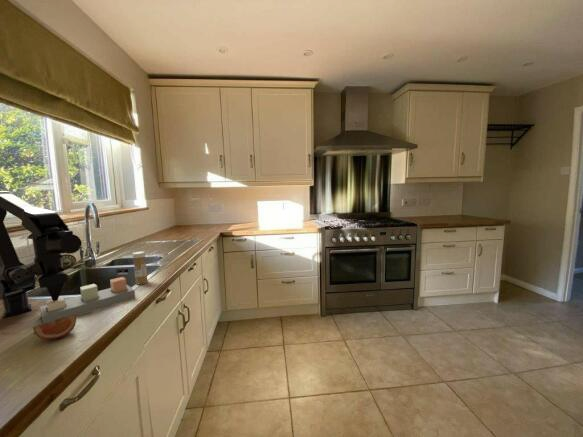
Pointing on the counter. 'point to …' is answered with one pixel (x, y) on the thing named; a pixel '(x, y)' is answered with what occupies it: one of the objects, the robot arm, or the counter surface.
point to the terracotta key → (118, 284)
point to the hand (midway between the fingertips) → (55, 300)
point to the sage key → (89, 292)
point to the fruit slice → (56, 328)
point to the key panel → (86, 304)
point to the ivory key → (55, 304)
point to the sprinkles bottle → (140, 267)
